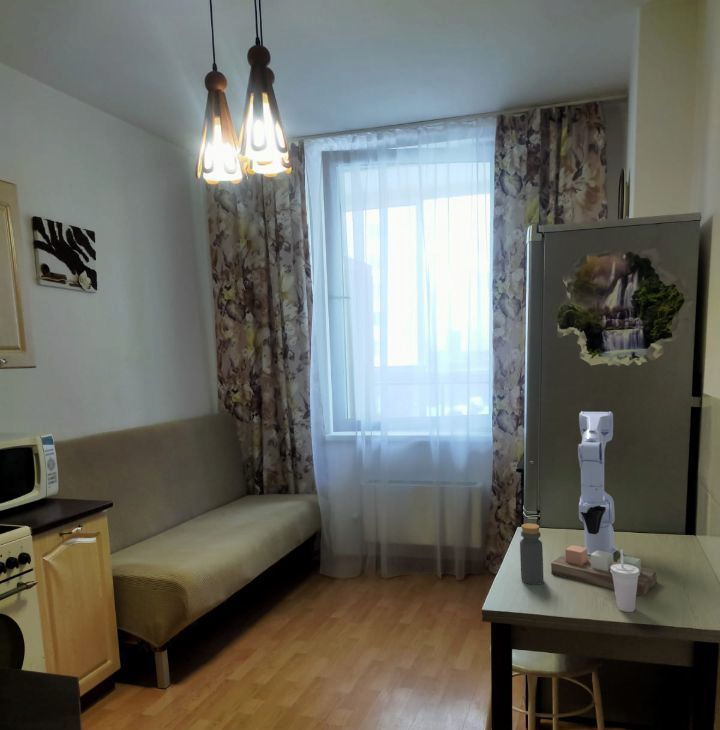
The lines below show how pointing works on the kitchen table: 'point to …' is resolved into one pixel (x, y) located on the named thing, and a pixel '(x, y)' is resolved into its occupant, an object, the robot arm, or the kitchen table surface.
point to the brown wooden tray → (600, 574)
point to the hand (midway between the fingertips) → (593, 533)
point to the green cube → (631, 562)
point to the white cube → (602, 560)
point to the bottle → (531, 554)
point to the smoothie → (625, 585)
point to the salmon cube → (576, 555)
